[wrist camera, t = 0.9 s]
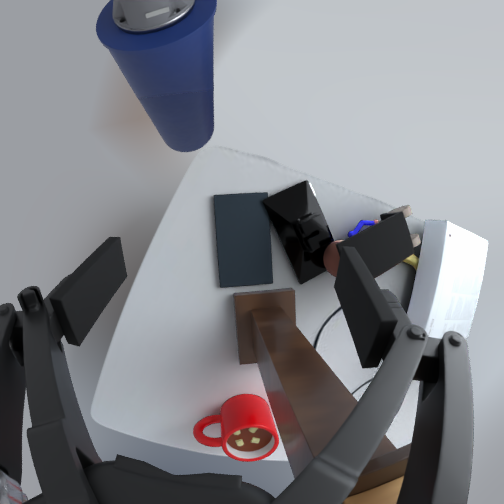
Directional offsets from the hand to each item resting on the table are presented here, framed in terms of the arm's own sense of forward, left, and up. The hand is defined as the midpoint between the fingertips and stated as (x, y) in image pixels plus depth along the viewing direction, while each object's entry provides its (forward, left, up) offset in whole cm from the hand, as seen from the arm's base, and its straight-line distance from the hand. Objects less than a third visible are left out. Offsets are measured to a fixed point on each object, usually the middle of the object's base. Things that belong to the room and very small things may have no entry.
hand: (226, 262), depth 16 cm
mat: (0, +3, -21) cm, 21 cm away
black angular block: (-1, +11, -21) cm, 24 cm away
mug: (+27, -1, -21) cm, 34 cm away
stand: (+12, +5, -21) cm, 25 cm away
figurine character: (+1, +20, -21) cm, 29 cm away
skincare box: (+12, +44, -19) cm, 50 cm away
